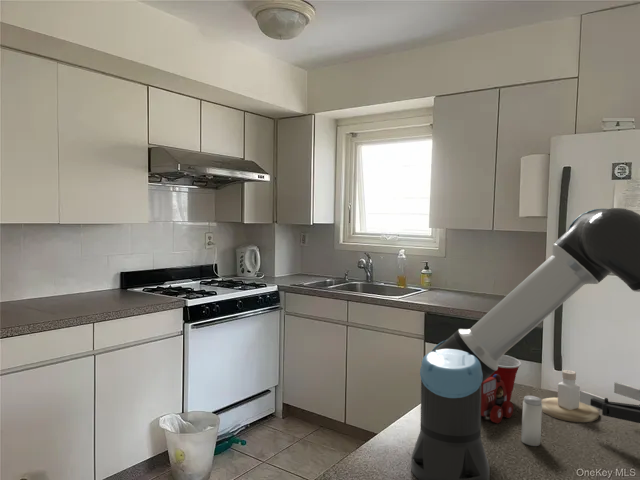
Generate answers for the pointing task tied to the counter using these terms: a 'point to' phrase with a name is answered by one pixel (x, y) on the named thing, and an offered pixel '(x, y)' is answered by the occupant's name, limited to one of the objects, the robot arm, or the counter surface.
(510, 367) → the plastic cup
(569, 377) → the pepper shaker
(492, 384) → the toy fire truck
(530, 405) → the salt shaker
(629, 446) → the counter surface
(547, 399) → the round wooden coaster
